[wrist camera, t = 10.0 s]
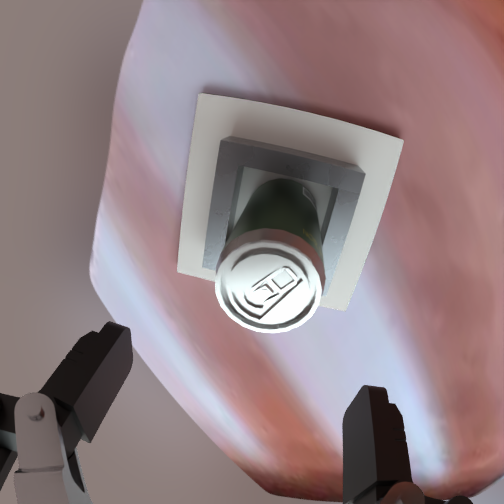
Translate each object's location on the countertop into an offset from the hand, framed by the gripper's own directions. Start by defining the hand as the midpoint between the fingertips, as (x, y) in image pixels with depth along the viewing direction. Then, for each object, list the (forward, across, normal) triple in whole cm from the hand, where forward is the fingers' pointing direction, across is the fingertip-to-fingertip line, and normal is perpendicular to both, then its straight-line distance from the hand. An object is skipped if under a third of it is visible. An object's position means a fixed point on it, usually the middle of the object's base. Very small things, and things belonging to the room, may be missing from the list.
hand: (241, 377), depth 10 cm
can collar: (+18, 0, 0) cm, 18 cm away
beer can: (+17, 0, 0) cm, 17 cm away
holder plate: (+18, 0, 0) cm, 18 cm away
